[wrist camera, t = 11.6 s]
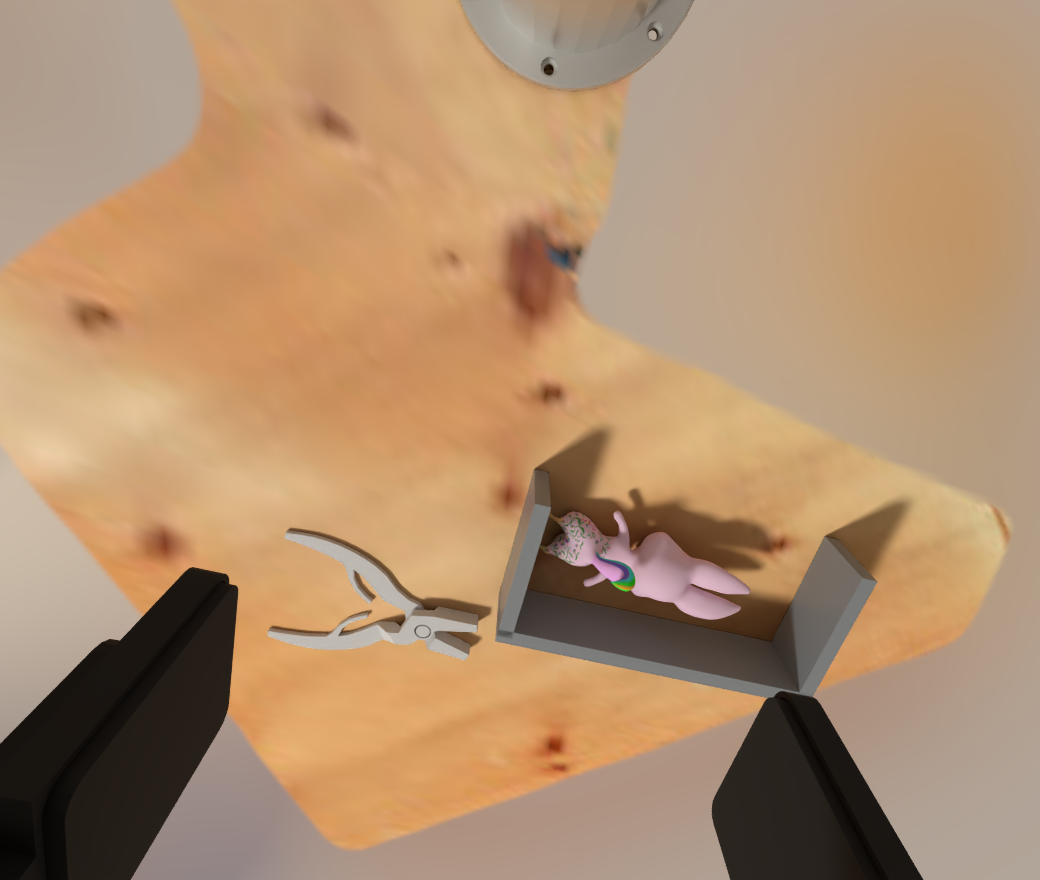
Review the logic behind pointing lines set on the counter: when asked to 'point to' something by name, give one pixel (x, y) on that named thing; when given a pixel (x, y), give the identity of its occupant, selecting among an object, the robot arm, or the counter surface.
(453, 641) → the pliers
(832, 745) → the robot arm
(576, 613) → the box
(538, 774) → the counter surface
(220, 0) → the counter surface
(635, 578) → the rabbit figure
